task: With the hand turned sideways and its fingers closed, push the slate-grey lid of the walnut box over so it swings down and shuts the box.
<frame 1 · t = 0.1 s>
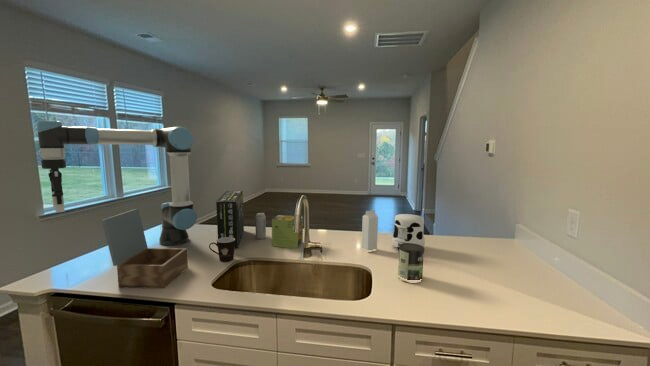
hand: (58, 209, 126), 28 cm above the worktop, tool pointing down, fingers open, 13 cm apart
energy drink can: (260, 238, 182), on the worktop
milk: (369, 250, 163), on the worktop
coffee can: (409, 278, 129), on the worktop
router box: (232, 239, 178), on the worktop
walnut box: (155, 276, 127), on the worktop
coffee mug: (224, 259, 147), on the worktop
lid: (126, 235, 125), point 18 cm above the worktop, hinge at 100.0°, touching walnut box
protein box: (287, 244, 171), on the worktop
milk container: (407, 249, 166), on the worktop
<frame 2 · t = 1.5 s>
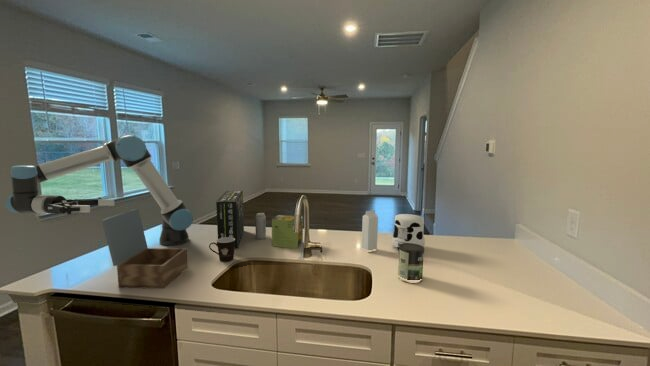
hand: (102, 205, 124), 30 cm above the worktop, tool horizontal, fingers open, 13 cm apart
nothing on the worktop moved.
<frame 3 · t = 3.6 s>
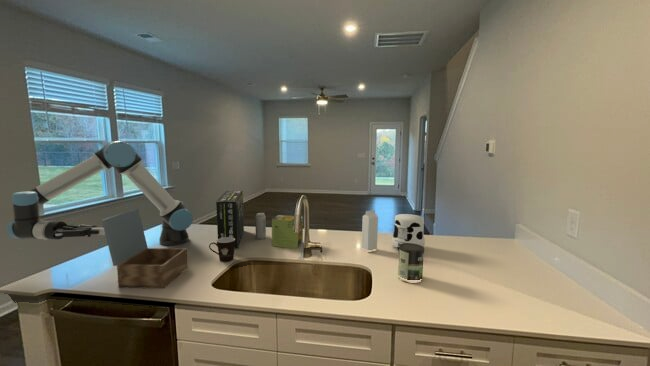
hand: (108, 231, 125), 19 cm above the worktop, tool horizontal, fingers closed
nothing on the worktop moved.
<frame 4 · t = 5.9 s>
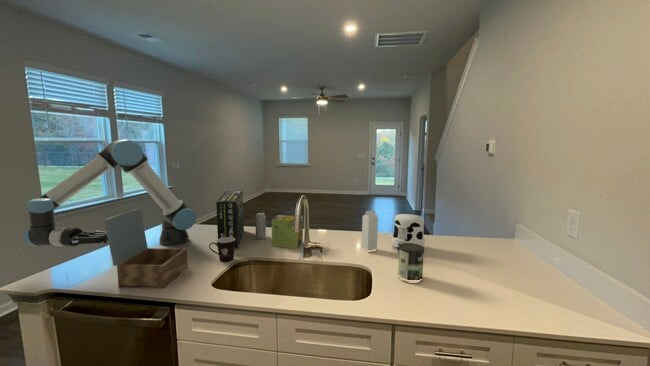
hand: (124, 237, 124), 17 cm above the worktop, tool horizontal, fingers closed
lid: (127, 234, 125), point 18 cm above the worktop, hinge at 97.0°, touching gripper, walnut box
everything else where it was.
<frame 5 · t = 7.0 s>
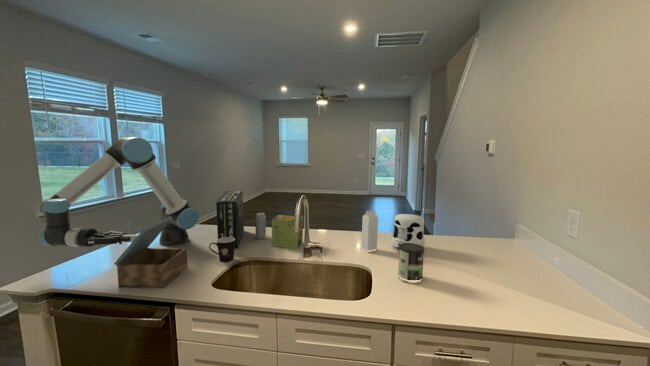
hand: (139, 238, 124), 17 cm above the worktop, tool horizontal, fingers closed
lid: (145, 239, 125), point 16 cm above the worktop, hinge at 48.9°, touching gripper, walnut box
everything else where it was.
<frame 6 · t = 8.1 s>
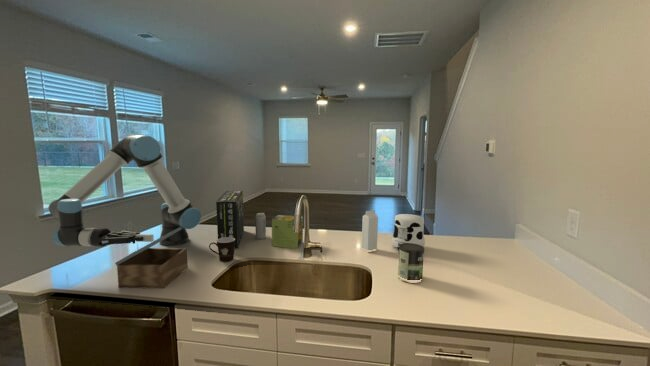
hand: (152, 238, 125), 17 cm above the worktop, tool horizontal, fingers closed
lid: (151, 244, 125), point 14 cm above the worktop, hinge at 29.3°
everything else where it was.
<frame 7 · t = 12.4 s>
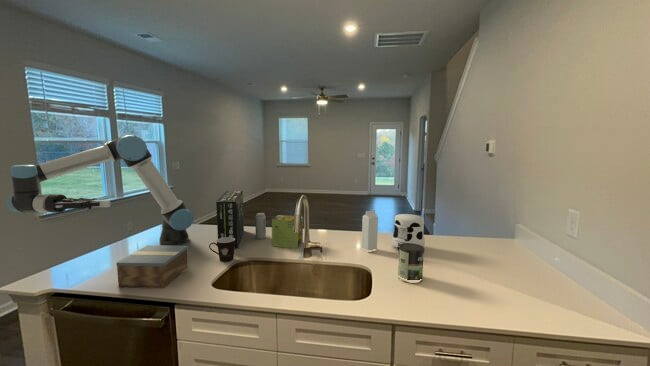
hand: (109, 203, 123), 31 cm above the worktop, tool horizontal, fingers closed
lid: (155, 254, 126), point 10 cm above the worktop, hinge at 0.0°, touching walnut box
everything else where it was.
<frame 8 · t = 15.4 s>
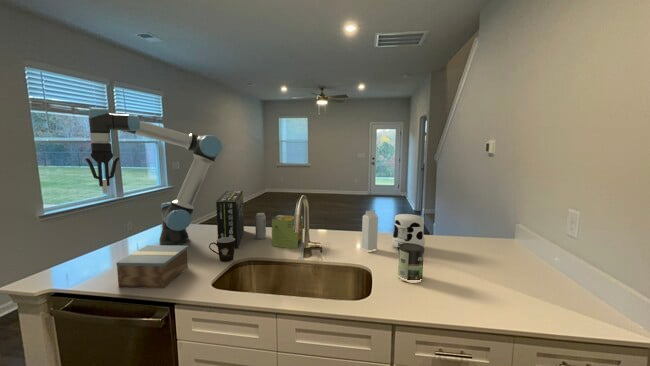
hand: (105, 193, 141), 32 cm above the worktop, tool pointing down, fingers closed
nothing on the worktop moved.
at the end: lid at +0° (first picture: +100°) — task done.
